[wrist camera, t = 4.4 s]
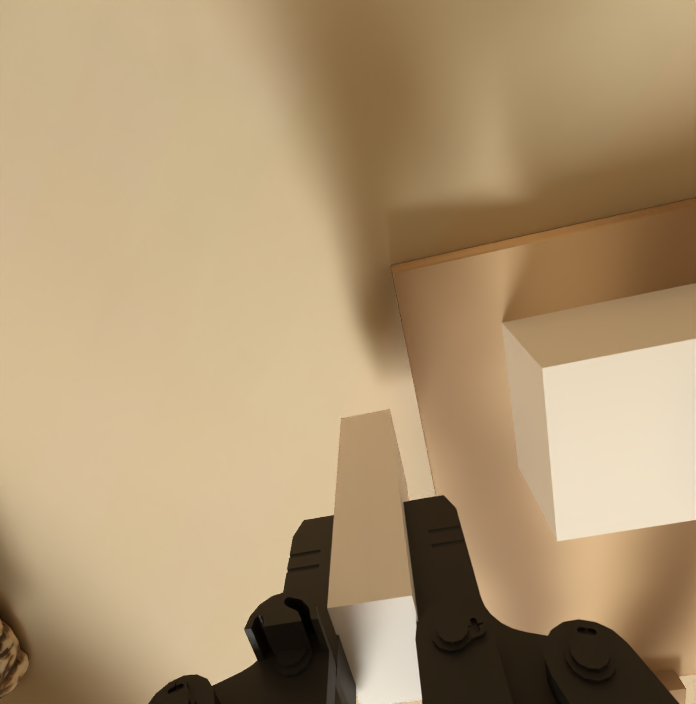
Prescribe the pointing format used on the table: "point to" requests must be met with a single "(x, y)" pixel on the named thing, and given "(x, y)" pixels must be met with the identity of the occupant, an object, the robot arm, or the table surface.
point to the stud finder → (607, 412)
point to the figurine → (10, 660)
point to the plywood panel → (499, 437)
